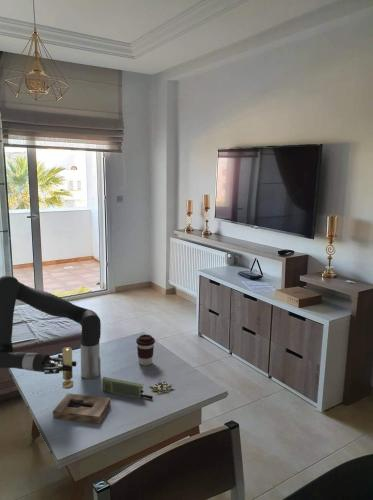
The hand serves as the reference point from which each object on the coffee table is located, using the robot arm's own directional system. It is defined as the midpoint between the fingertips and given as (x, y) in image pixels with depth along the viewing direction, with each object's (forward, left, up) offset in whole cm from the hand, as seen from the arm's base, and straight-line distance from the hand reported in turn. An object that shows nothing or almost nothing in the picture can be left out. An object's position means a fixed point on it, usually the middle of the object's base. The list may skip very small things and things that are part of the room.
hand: (73, 366), depth 170 cm
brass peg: (+2, -1, -9) cm, 10 cm away
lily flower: (-41, -4, -21) cm, 46 cm away
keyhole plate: (-3, +3, -20) cm, 20 cm away
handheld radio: (-24, -4, -20) cm, 32 cm away
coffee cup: (-41, -32, -20) cm, 56 cm away
